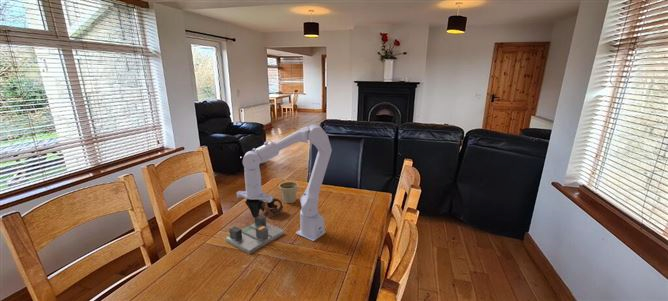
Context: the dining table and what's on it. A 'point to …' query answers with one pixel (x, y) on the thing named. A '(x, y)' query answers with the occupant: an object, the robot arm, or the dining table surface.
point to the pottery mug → (267, 206)
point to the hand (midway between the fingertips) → (255, 216)
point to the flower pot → (288, 191)
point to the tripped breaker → (261, 232)
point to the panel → (252, 235)
